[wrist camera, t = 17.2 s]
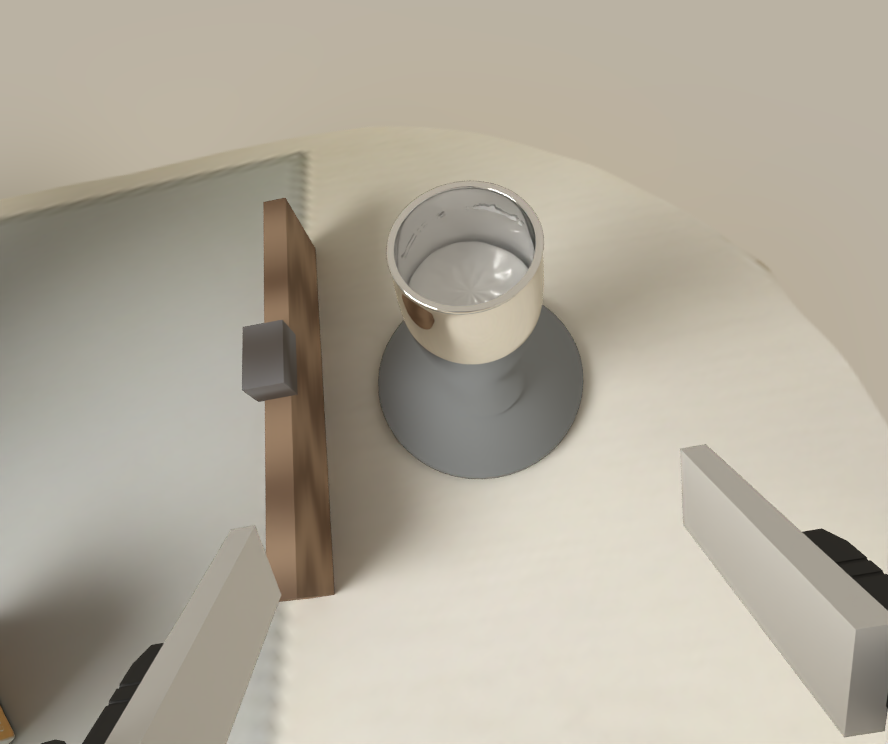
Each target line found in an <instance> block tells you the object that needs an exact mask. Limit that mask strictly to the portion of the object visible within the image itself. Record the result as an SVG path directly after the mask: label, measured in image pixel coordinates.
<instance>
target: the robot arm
mask: <svg viewBox="0 0 888 744" xmlns="http://www.w3.org/2000/svg"><path fill="white" fill-rule="evenodd" d="M680 457H681V482H682V508H683V525H684V527H685V528H686V529H687V531H688V532H689V533H690V535H691V536H692V537H693V539H694V540H695V541H696V543H697V544H698V545H699V547H700V548H701V549H702V550H703V552H704V553H705V554H706V556H707V557H708V558H709V560H710V561H711V562H712V564H713V565H714V566H715V568H716V569H717V570H718V572H719V573H720V574H721V576H722V577H723V578H724V579H725V581H726V582H727V583H728V585H729V586H730V587H731V589H732V590H733V591H734V593H735V594H736V595H737V597H738V598H739V599H740V601H741V602H742V603H743V605H744V606H745V607H746V608H747V610H748V611H749V612H750V614H751V615H752V616H753V618H754V619H755V620H756V622H757V623H758V624H759V626H760V627H761V628H762V630H763V631H764V632H765V633H766V635H767V636H768V637H769V639H770V640H771V641H772V643H773V644H774V645H775V647H776V648H777V649H778V651H779V652H780V653H781V655H782V656H783V657H784V659H785V660H786V661H787V662H788V664H789V665H790V666H791V668H792V669H793V670H794V672H795V673H796V674H797V676H798V677H799V678H800V680H801V681H802V682H803V684H804V685H805V686H806V688H807V689H808V690H809V691H810V693H811V694H812V695H813V697H814V698H815V699H816V701H817V702H818V703H819V705H820V706H821V707H822V709H823V710H824V711H825V713H826V714H827V715H828V717H829V718H830V719H831V720H832V722H833V723H834V724H835V726H836V727H837V728H838V730H839V731H840V732H841V734H842V735H843V736H844V737H850V736H856V735H862V734H869V733H875V732H882V731H885V725H886V718H887V711H888V575H887V574H884V573H883V571H882V570H881V569H880V568H879V567H878V566H877V565H875V564H874V563H873V562H872V561H871V560H870V561H868V560H867V557H866V556H865V555H863V554H862V553H861V552H860V551H859V550H857V549H856V548H855V547H854V546H853V545H851V544H850V543H849V542H848V541H846V540H844V539H842V538H840V537H838V536H836V535H834V534H832V533H830V532H828V531H826V530H824V529H816V530H811V531H805V532H801V531H800V530H799V529H798V528H797V527H796V526H795V525H794V524H792V523H791V522H790V521H789V520H788V519H787V518H786V517H785V516H784V515H783V514H782V513H780V512H779V511H778V510H777V509H776V508H775V507H774V506H773V505H772V504H771V503H770V502H768V501H767V500H766V499H765V498H764V497H763V496H762V495H761V494H760V493H759V492H758V491H756V490H755V489H754V488H753V487H752V486H751V485H750V484H749V483H748V482H747V481H746V480H744V479H743V478H742V477H741V476H740V475H739V474H738V473H737V472H736V471H735V470H734V469H732V468H731V467H730V466H729V465H728V464H727V463H726V462H725V461H724V460H723V459H722V458H720V457H719V456H718V455H717V454H716V453H715V452H714V451H713V450H712V449H711V448H709V447H708V446H707V445H706V444H704V445H699V446H693V447H688V448H682V449H680ZM280 597H281V593H280V590H279V587H278V585H277V582H276V579H275V577H274V574H273V572H272V569H271V566H270V564H269V561H268V558H267V556H266V553H265V550H264V548H263V545H262V543H261V540H260V537H259V535H258V532H257V529H256V527H255V525H254V526H249V527H243V528H238V529H232V530H231V531H230V532H229V534H228V536H227V537H226V539H225V541H224V542H223V544H222V546H221V548H220V549H219V551H218V553H217V554H216V556H215V558H214V559H213V561H212V563H211V564H210V566H209V568H208V570H207V571H206V573H205V575H204V576H203V578H202V580H201V581H200V583H199V585H198V586H197V588H196V590H195V592H194V593H193V595H192V597H191V598H190V600H189V602H188V603H187V605H186V607H185V608H184V610H183V612H182V614H181V615H180V617H179V619H178V620H177V622H176V624H175V625H174V627H173V629H172V630H171V632H170V634H169V636H168V637H167V639H166V641H165V642H164V643H161V644H155V645H151V646H150V647H149V648H148V649H147V650H146V651H145V652H144V653H143V654H142V655H141V656H140V657H139V658H138V659H137V660H136V661H135V662H134V663H133V664H132V666H131V667H130V669H129V670H128V672H127V674H126V675H125V677H124V678H123V680H122V681H121V683H120V687H119V689H116V691H115V693H114V694H113V696H112V697H111V699H110V700H109V705H108V706H106V707H105V708H104V710H103V712H102V713H101V715H100V716H99V718H98V719H97V721H96V723H95V724H94V726H93V727H92V729H91V731H90V732H89V734H88V735H87V737H86V738H85V740H84V742H83V743H82V744H226V743H227V740H228V738H229V735H230V732H231V729H232V727H233V724H234V721H235V719H236V716H237V713H238V711H239V708H240V705H241V702H242V700H243V697H244V694H245V692H246V689H247V686H248V684H249V681H250V678H251V675H252V673H253V670H254V667H255V665H256V662H257V659H258V657H259V654H260V651H261V648H262V646H263V643H264V640H265V638H266V635H267V632H268V630H269V627H270V624H271V621H272V619H273V616H274V613H275V611H276V608H277V605H278V603H279V600H280ZM41 744H66V743H65V741H60V740H52V741H48V742H44V743H41Z"/></svg>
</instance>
